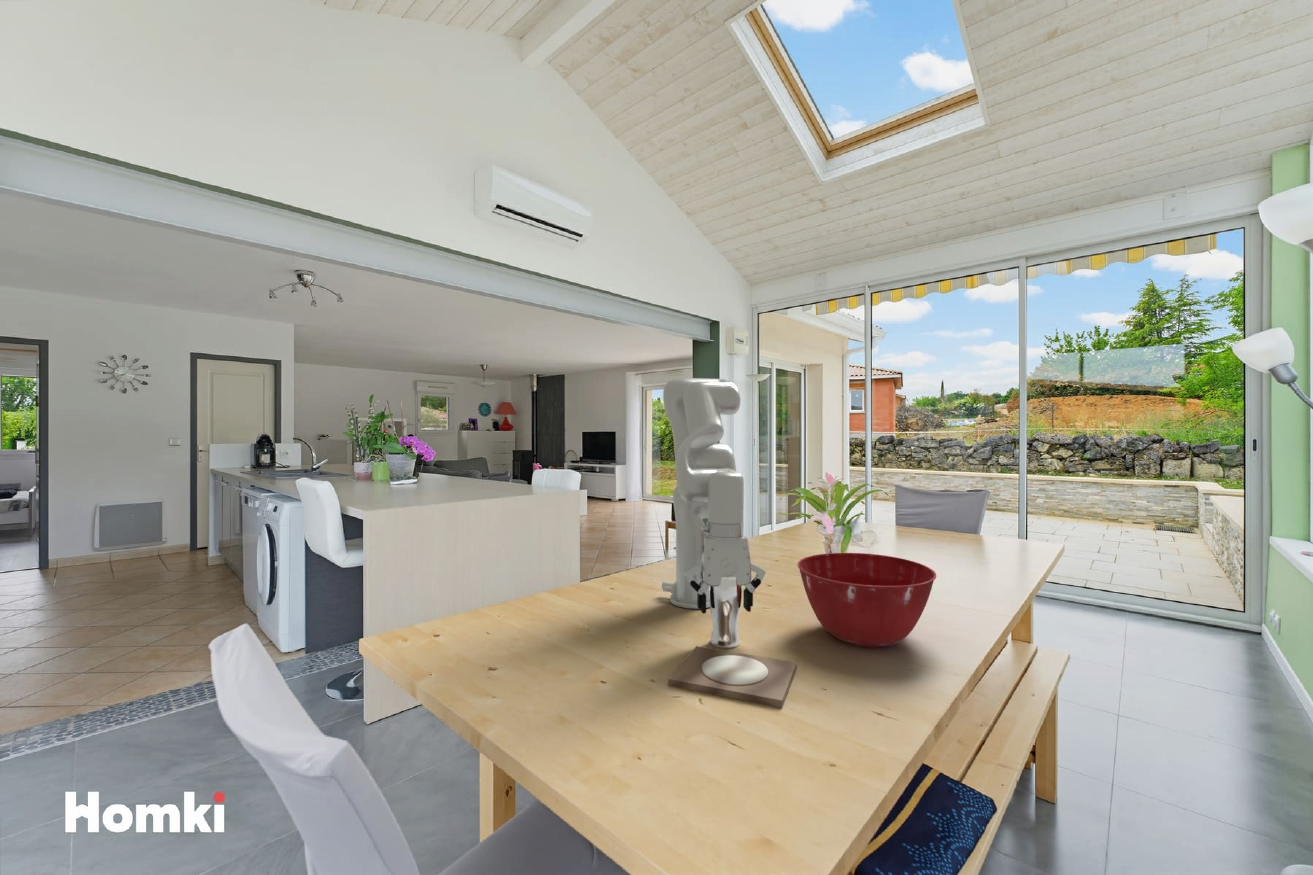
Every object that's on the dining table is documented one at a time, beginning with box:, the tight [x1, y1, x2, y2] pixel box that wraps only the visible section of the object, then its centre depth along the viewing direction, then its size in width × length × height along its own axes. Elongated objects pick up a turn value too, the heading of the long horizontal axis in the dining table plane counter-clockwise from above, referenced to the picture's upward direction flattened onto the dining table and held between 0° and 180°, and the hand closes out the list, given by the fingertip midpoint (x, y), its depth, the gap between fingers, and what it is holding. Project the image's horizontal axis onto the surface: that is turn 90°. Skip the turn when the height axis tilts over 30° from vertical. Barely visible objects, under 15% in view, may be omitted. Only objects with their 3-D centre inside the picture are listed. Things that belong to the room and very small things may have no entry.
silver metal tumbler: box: [709, 576, 743, 649], centre depth 117 cm, size 7×7×15 cm
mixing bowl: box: [796, 552, 937, 648], centre depth 122 cm, size 28×28×16 cm
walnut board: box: [667, 645, 798, 709], centre depth 101 cm, size 20×16×2 cm
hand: (725, 610), depth 117 cm, fingers open, 9 cm apart
